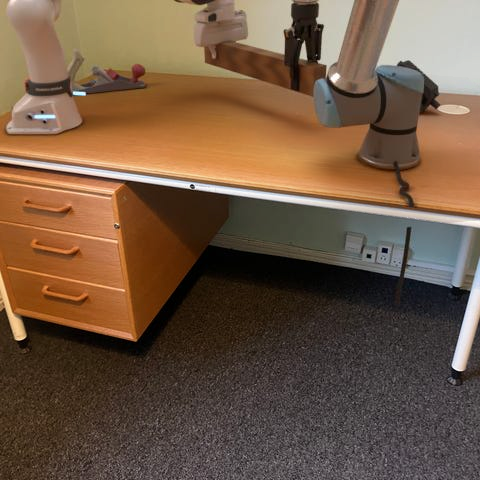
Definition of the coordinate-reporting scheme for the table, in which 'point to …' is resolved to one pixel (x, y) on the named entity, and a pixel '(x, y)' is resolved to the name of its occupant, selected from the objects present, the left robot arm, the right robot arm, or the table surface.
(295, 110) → the table surface
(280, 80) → the bar
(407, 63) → the tool
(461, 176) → the table surface
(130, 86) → the hand plane
